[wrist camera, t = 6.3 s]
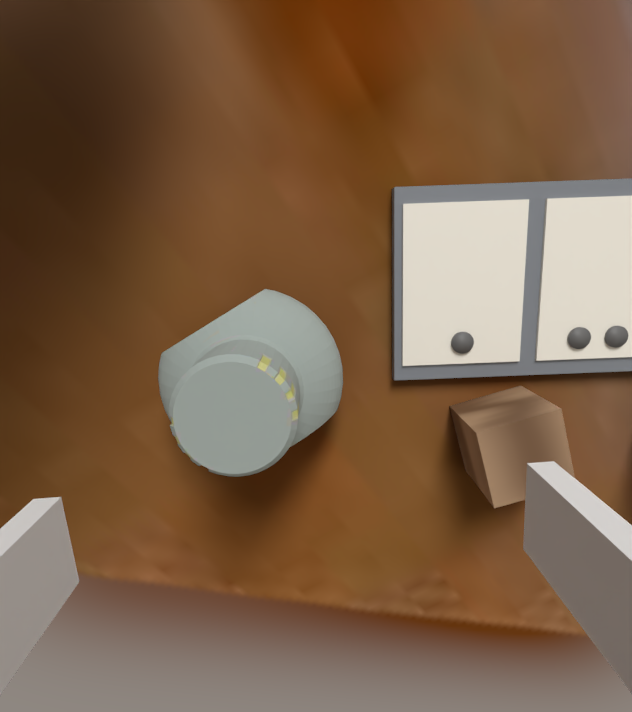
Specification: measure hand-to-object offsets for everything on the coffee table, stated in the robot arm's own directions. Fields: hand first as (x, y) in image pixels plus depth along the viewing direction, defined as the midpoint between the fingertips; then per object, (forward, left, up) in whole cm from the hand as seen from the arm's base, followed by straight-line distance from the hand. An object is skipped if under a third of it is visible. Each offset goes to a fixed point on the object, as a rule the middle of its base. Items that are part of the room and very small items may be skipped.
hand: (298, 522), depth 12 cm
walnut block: (+13, -5, -18) cm, 22 cm away
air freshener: (-3, 0, -18) cm, 18 cm away
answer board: (+19, +5, -17) cm, 26 cm away
